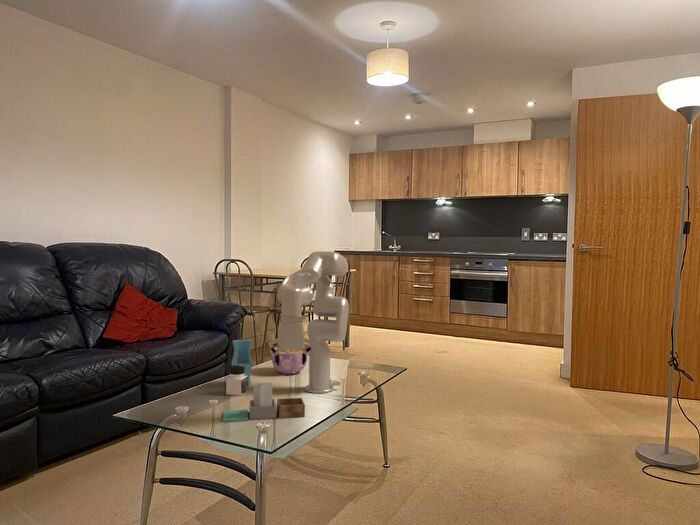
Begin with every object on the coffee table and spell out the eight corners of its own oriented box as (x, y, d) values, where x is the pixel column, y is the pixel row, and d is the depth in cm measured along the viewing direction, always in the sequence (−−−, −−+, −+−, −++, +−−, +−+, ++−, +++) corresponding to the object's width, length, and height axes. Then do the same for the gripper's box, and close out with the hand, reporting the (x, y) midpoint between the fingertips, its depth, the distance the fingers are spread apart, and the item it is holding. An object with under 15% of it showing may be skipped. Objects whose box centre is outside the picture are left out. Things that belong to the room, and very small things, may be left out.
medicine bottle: (241, 396, 221) (241, 367, 221) (225, 394, 223) (226, 366, 223) (248, 391, 228) (248, 364, 228) (232, 390, 230) (233, 363, 230)
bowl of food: (284, 379, 251) (284, 355, 251) (261, 371, 266) (262, 349, 266) (316, 373, 265) (317, 350, 264) (293, 366, 279) (293, 345, 279)
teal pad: (247, 410, 201) (247, 409, 201) (248, 420, 189) (248, 419, 189) (223, 411, 199) (223, 410, 199) (222, 422, 187) (222, 420, 187)
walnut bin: (301, 409, 204) (301, 397, 204) (304, 416, 195) (304, 404, 195) (276, 410, 202) (277, 398, 202) (278, 418, 193) (279, 406, 193)
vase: (234, 387, 236) (235, 343, 235) (231, 383, 243) (231, 340, 242) (251, 385, 239) (252, 342, 238) (248, 381, 246) (248, 339, 245)
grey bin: (274, 410, 202) (274, 398, 202) (276, 418, 193) (276, 406, 193) (249, 411, 200) (249, 400, 200) (250, 419, 191) (250, 407, 191)
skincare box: (265, 411, 200) (265, 380, 200) (272, 414, 197) (273, 382, 197) (252, 415, 196) (252, 383, 195) (260, 418, 193) (260, 385, 192)
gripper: (312, 318, 204) (311, 362, 204) (268, 318, 200) (267, 363, 200) (315, 320, 196) (314, 366, 196) (269, 321, 193) (268, 367, 193)
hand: (290, 364), depth 198 cm, fingers open, 9 cm apart
